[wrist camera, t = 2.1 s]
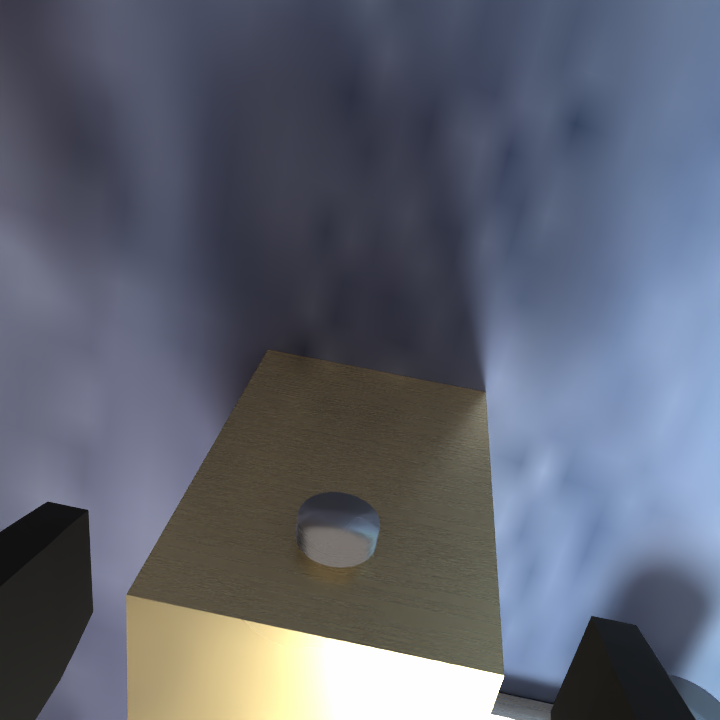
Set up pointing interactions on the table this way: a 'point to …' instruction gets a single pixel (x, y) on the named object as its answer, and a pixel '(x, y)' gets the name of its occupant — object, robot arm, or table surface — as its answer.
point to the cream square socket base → (526, 716)
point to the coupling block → (327, 559)
